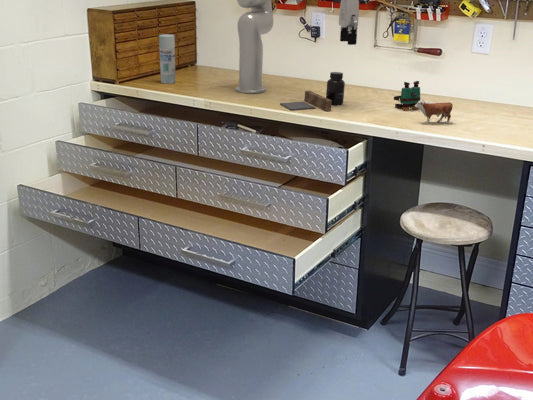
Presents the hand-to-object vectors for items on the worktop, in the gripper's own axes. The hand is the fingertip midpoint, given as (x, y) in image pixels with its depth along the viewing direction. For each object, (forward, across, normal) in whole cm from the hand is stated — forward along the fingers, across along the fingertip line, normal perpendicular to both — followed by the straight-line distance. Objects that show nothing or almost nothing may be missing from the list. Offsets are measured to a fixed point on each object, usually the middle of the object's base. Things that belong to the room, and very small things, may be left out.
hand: (348, 42), depth 237 cm
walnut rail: (+23, +2, -11) cm, 26 cm away
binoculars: (+24, +7, +22) cm, 33 cm away
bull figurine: (+24, +30, +23) cm, 45 cm away
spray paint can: (+22, -45, -66) cm, 83 cm away
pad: (+23, +3, -19) cm, 30 cm away
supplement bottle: (+23, -1, -4) cm, 24 cm away
